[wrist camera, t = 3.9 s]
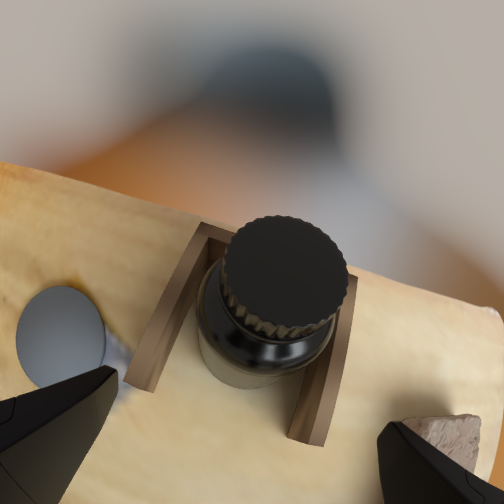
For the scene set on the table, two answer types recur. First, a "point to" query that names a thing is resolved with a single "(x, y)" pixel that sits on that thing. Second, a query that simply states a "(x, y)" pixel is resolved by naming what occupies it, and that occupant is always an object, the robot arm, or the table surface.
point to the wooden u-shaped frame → (175, 310)
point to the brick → (451, 436)
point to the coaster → (59, 336)
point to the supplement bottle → (270, 301)
